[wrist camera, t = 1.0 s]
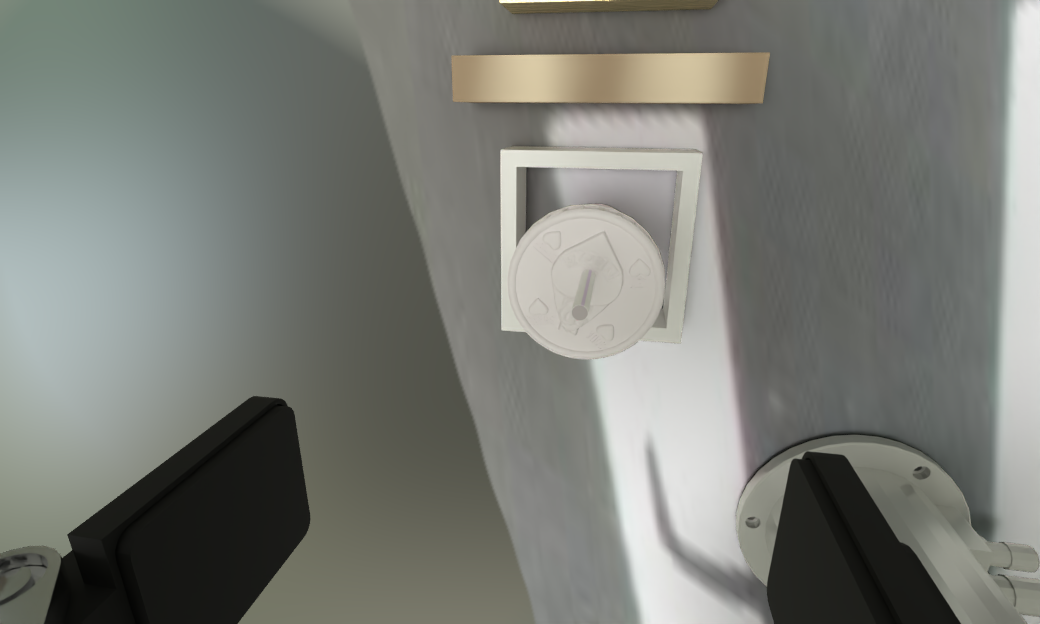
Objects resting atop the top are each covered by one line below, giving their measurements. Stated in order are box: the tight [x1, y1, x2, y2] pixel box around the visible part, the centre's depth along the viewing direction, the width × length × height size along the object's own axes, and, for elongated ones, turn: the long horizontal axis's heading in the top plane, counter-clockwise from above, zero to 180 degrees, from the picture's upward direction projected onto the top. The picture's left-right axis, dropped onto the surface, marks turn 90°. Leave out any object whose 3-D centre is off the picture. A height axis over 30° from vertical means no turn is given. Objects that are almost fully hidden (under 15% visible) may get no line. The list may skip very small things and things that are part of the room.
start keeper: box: [501, 146, 703, 344], centre depth 30 cm, size 10×10×3 cm
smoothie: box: [507, 204, 665, 359], centre depth 24 cm, size 6×6×14 cm
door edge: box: [452, 53, 770, 104], centre depth 27 cm, size 14×2×4 cm, turn 90°
